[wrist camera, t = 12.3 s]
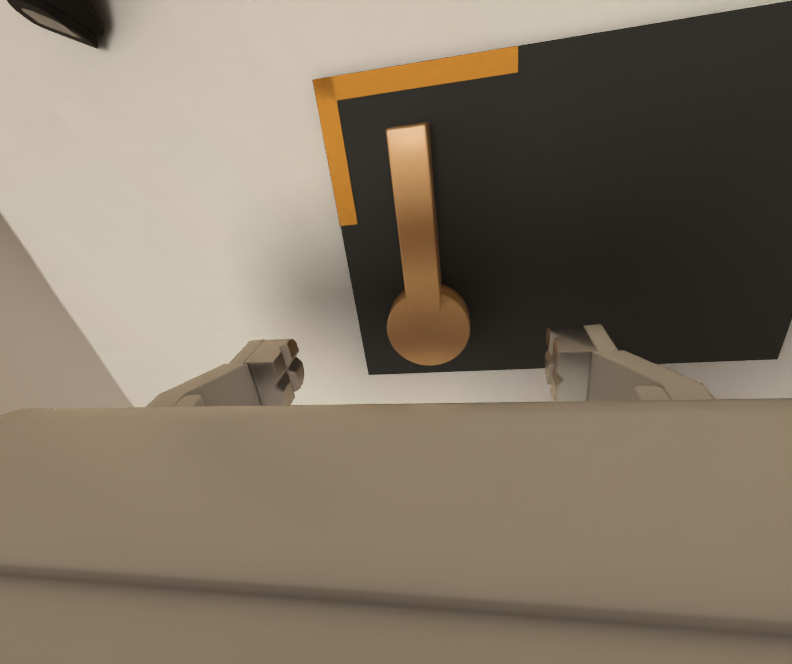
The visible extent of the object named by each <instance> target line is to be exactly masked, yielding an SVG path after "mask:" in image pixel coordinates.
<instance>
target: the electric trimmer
mask: <svg viewBox="0 0 792 664" xmlns="http://www.w3.org/2000/svg"><path fill="white" fill-rule="evenodd" d="M7 1H8V3H9V4H10V5H11V6H12V7H13V8H14V9H15V10H16V11H17V12H19V13H20V14H21V15H23V16H24V17H25V18H27V19H28V20H30V21H31V22H33V23H34V24H36V25H38V26H40V27H42V28H45V29H47V30H50V31H53V32H55V33H58V34H60V35H63V36H66V37H68V38H71V39H74V40H76V41H79V42H82V43H84V44H87V45H90V46H92V47H95V48H98V38H97V37H96V36H100V35H104V26H103V24H102V22H101V21H100V19H99V18H98V16H97V15H96V13H95V12H94V10H93V9H92V7H91V6H90V4H89V3H88V0H7Z"/></svg>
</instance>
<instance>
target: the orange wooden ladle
mask: <svg viewBox="0 0 792 664" xmlns="http://www.w3.org/2000/svg"><path fill="white" fill-rule="evenodd" d="M386 137H387V145H388V153H389V161H390V170H391V178H392V186H393V195H394V203H395V211H396V219H397V228H398V236H399V244H400V253H401V261H402V269H403V277H404V286H405V290H403V291H402V292H401V293H400V294H399V295H398V296H397V298H396V299H395V301H394V302H393V305H392V307H391V310H390V314H389V317H388V321H387V334H388V338H389V340H390V343H391V344H392V346H393V347H394V349H395V350H396V351H397V352H398V353H399V354H400V355H401V356H402V357H404V358H405V359H407V360H409V361H411V362H413V363H416V364H420V365H439V364H443V363H446V362H448V361H450V360H452V359H454V358H455V357H456V356H458V355H459V354H460V353H461V352H462V351H463V349H464V348H465V347H466V345H467V343H468V340H469V337H470V316H469V310H468V307H467V305H466V303H465V301H464V299H463V298H462V297H461V296H460V295H459V294H458V293H457V292H456V291H455V290H453V289H452V288H450V287H448V286H446V285H444V284H442V282H441V269H440V256H439V242H438V229H437V216H436V203H435V190H434V177H433V163H432V150H431V137H430V124H429V122H424V123H416V124H409V125H401V126H394V127H391V128H387V129H386Z"/></svg>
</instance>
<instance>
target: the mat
mask: <svg viewBox="0 0 792 664" xmlns="http://www.w3.org/2000/svg"><path fill="white" fill-rule="evenodd" d="M313 85H314V90H315V95H316V101H317V106H318V111H319V116H320V122H321V127H322V132H323V138H324V143H325V148H326V153H327V159H328V164H329V169H330V175H331V180H332V185H333V190H334V196H335V201H336V206H337V212H338V217H339V222H340V226H341V230H342V235H343V240H344V246H345V251H346V256H347V262H348V267H349V272H350V277H351V283H352V288H353V293H354V299H355V304H356V309H357V315H358V320H359V325H360V331H361V336H362V341H363V346H364V352H365V357H366V362H367V368H368V373H369V375H375V374H402V373H428V372H454V371H481V370H507V369H533V368H545V353H546V352H547V351H548V347H547V344H546V341H545V340H546V330H547V328H549V327H564V326H579V325H583V326H584V325H596V324H600V325H602V326H603V328H604V329H605V331H606V332H607V334H608V335H609V337H610V338H611V340H612V341H613V343H614V344H615V346H616V347H617V349H618V351H620V350H624V351H627V352H629V353H631V354H634V355H636V356H638V357H641V358H643V359H645V360H648V361H650V362H652V363H655V364H665V363H691V362H717V361H744V360H770V359H778V356H779V353H780V350H781V348H782V345H783V342H784V339H785V336H786V333H787V331H788V328H789V325H790V322H791V319H792V1H788V2H782V3H775V4H769V5H763V6H757V7H751V8H745V9H739V10H733V11H727V12H721V13H715V14H709V15H703V16H697V17H691V18H685V19H679V20H673V21H667V22H661V23H655V24H648V25H642V26H636V27H630V28H624V29H618V30H612V31H606V32H600V33H594V34H588V35H582V36H576V37H570V38H564V39H558V40H552V41H546V42H540V43H534V44H528V45H522V46H514V47H508V48H502V49H496V50H490V51H484V52H477V53H471V54H465V55H459V56H453V57H447V58H441V59H435V60H429V61H423V62H417V63H411V64H405V65H399V66H393V67H387V68H381V69H375V70H369V71H363V72H357V73H351V74H345V75H339V76H332V77H326V78H320V79H314V80H313ZM424 122H429V124H430V137H431V150H432V163H433V177H434V190H435V203H436V216H437V229H438V242H439V256H440V269H441V282H442V284H444V285H446V286H448V287H450V288H452V289H453V290H455V291H456V292H457V293H458V294H459V295H460V296H461V297H462V298H463V299H464V301H465V303H466V305H467V307H468V310H469V316H470V337H469V340H468V343H467V345H466V347H465V348H464V349H463V351H462V352H461V353H460V354H459V355H458V356H456V357H455V358H454V359H452V360H450V361H448V362H446V363H443V364H439V365H420V364H416V363H413V362H411V361H409V360H407V359H405V358H404V357H402V356H401V355H400V354H399V353H398V352H397V351H396V350H395V349H394V347H393V346H392V344H391V343H390V340H389V338H388V334H387V321H388V317H389V314H390V310H391V307H392V305H393V302H394V301H395V299H396V298H397V296H398V295H399V294H400V293H401V292H402V291H403V290H405V286H404V277H403V269H402V261H401V253H400V244H399V236H398V228H397V219H396V211H395V203H394V195H393V186H392V178H391V170H390V161H389V153H388V145H387V137H386V129H387V128H391V127H394V126H401V125H409V124H416V123H424Z"/></svg>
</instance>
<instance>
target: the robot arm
mask: <svg viewBox="0 0 792 664" xmlns="http://www.w3.org/2000/svg"><path fill="white" fill-rule="evenodd" d="M545 341H546V344H547V347H548V351H547V352H546V353H545V374H546V379H547V382H548V384H550V385H551V395H552V398H553V401H554V402H499V403H425V404H347V405H291V403H292V401H293V399H294V398H295V395H294V392H295V391H297V390H298V389H300V387H301V385H302V384H303V379H304V368H303V364H302V362H301V361H300V360H299V359H298V358H297V357H296V356H297V353H298V351H299V350H298V347H297V343H296V342H295V341H294V340H293V339H279V340H253V341H249V342H248V344H247V345H246V346H245V347H244V348H243V349H242V350H241V351H240V352H239V353H238V354H237V355H236V356H235V358H234V359H233V360H232V361H231V362H230V363H229V364H224V365H222V366H219V367H217V368H215V369H213V370H211V371H209V372H206V373H204V374H202V375H200V376H198V377H196V378H194V379H191V380H189V381H187V382H185V383H183V384H181V385H178V386H176V387H174V388H172V389H170V390H168V391H166V392H163V393H161V394H159V395H158V396H157V397H156V398H155V399H154V400H153V401H152V402H151V403H150V404H148V405H147V406H146V407H128V408H59V409H58V408H57V409H53V408H49V409H48V408H27V409H20V410H17V411H13V412H10V413H6V414H3V415H0V664H792V398H786V399H715V398H714V397H713V396H712V395H711V393H710V392H709V391H708V390H707V389H706V388H705V387H704V385H703V384H701V383H699V382H697V381H694V380H692V379H690V378H687V377H685V376H683V375H680V374H678V373H676V372H673V371H671V370H669V369H666V368H664V367H662V366H659V365H657V364H655V363H652V362H650V361H648V360H645V359H643V358H641V357H638V356H636V355H634V354H631V353H629V352H627V351H624V350H620V351H618V349H617V347H616V346H615V344H614V343H613V341H612V340H611V338H610V337H609V335H608V334H607V332H606V331H605V329H604V328H603V326H602V325H600V324H596V325H584V326H583V325H579V326H564V327H549V328H547V330H546V340H545Z"/></svg>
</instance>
